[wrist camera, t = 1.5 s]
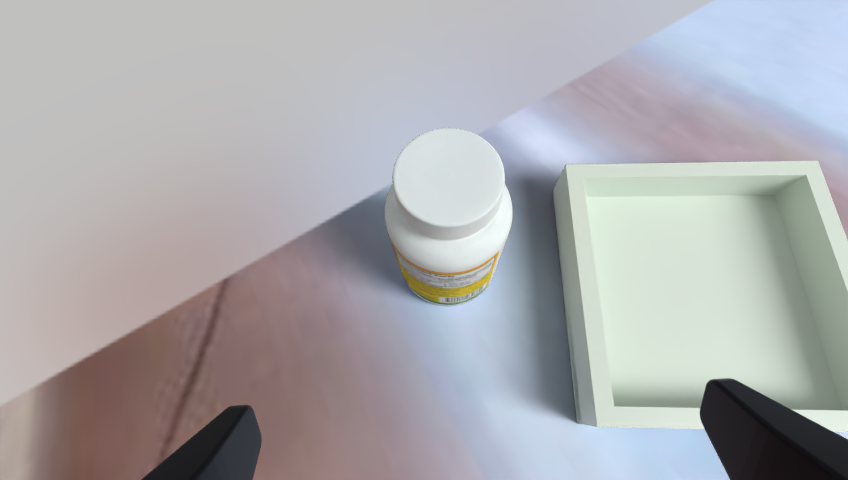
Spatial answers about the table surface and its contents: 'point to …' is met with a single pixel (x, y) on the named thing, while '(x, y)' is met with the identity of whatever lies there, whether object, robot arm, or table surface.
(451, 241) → the supplement bottle
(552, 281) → the table surface
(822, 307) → the tray
